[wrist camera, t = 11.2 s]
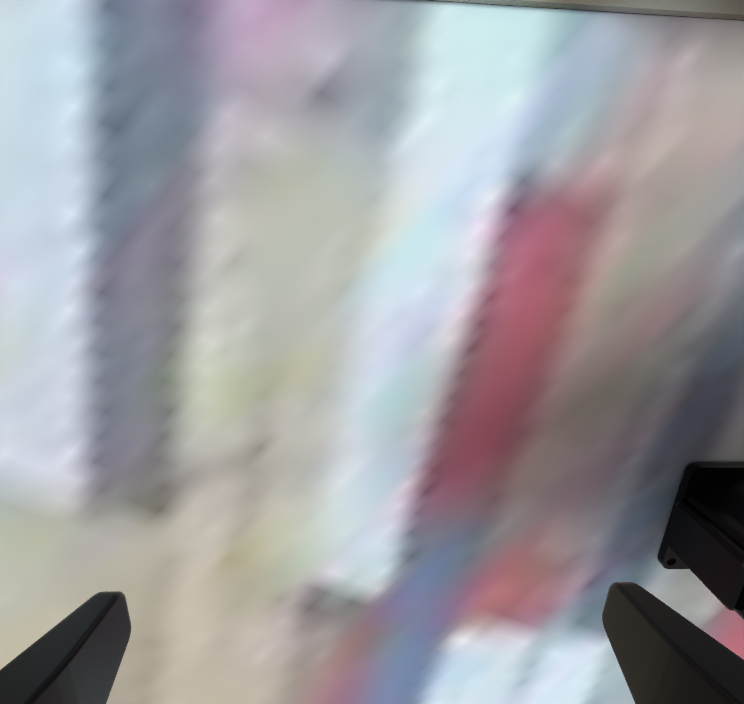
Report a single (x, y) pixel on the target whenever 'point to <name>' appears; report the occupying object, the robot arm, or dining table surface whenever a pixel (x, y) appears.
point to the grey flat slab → (638, 6)
